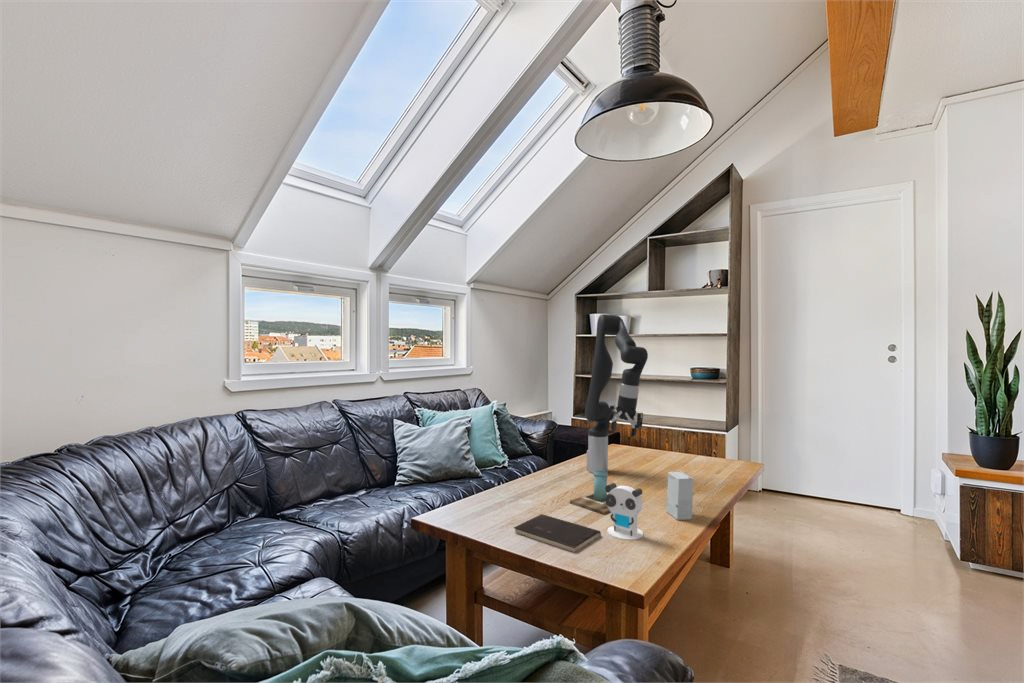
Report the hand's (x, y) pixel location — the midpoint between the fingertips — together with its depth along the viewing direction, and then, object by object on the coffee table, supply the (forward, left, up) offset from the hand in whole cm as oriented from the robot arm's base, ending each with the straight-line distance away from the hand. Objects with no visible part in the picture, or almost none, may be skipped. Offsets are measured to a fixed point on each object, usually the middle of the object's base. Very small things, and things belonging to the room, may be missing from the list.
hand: (622, 433), depth 194 cm
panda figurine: (+23, -33, -25) cm, 47 cm away
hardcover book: (+9, -50, -25) cm, 57 cm away
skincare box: (+28, -6, -25) cm, 38 cm away
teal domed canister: (+1, -17, -23) cm, 29 cm away
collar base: (+1, -17, -25) cm, 30 cm away
